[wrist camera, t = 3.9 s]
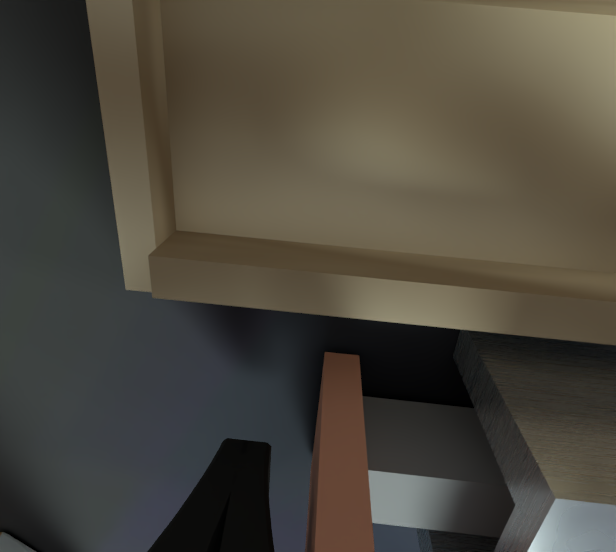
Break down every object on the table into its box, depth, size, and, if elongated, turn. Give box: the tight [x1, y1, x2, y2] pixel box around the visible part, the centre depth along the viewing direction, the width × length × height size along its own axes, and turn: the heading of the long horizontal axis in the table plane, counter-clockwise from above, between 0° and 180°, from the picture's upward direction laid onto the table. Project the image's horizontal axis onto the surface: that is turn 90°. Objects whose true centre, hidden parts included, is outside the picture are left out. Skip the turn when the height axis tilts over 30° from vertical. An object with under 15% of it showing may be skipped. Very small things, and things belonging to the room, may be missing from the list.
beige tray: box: [86, 0, 616, 345], centre depth 8 cm, size 7×14×2 cm, turn 86°
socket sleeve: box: [416, 329, 616, 552], centre depth 10 cm, size 8×7×5 cm
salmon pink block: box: [305, 352, 515, 552], centre depth 10 cm, size 5×8×6 cm, turn 86°
